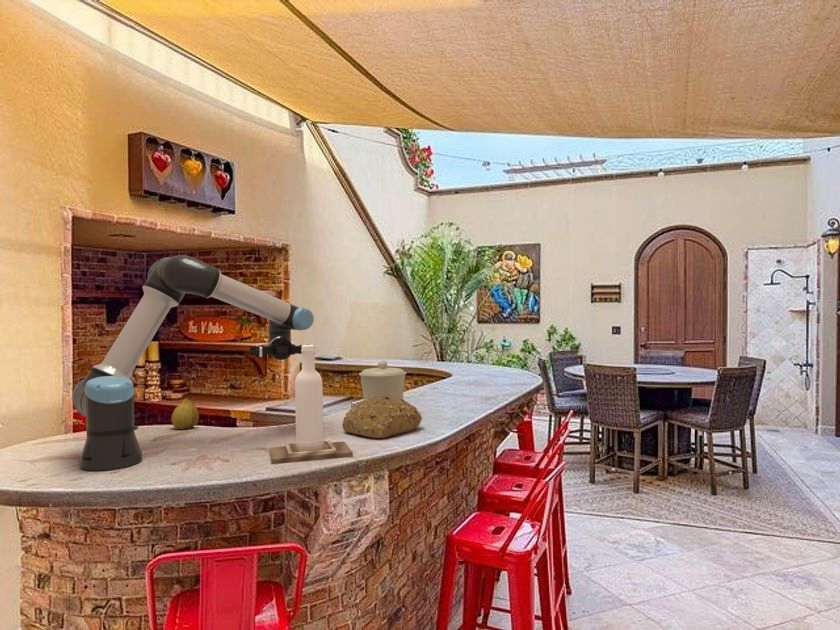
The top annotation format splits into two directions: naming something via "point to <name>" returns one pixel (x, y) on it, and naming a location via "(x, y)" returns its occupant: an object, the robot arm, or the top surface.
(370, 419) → the bread
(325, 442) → the serving board
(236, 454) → the top surface
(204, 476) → the top surface
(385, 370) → the canister
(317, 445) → the bottle
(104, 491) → the top surface
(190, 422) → the fruit
